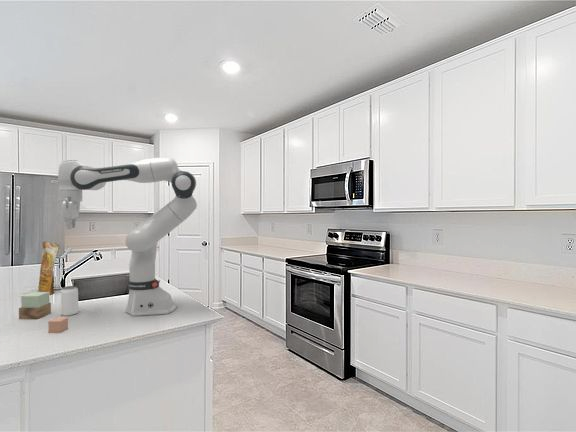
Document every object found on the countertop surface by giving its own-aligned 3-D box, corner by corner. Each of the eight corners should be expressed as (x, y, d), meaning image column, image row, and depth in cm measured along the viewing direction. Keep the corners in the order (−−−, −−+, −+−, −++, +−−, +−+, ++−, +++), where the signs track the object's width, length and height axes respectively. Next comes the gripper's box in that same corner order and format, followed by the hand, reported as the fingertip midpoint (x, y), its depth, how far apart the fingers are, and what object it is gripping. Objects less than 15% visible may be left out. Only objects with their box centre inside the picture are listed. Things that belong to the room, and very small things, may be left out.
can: (65, 317, 144) (65, 289, 143) (58, 314, 147) (58, 287, 147) (81, 313, 149) (80, 286, 149) (73, 310, 153) (73, 285, 152)
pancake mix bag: (49, 288, 192) (48, 240, 192) (60, 293, 181) (60, 243, 180) (35, 290, 187) (34, 241, 186) (46, 296, 175) (45, 244, 174)
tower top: (49, 302, 148) (49, 292, 148) (38, 307, 141) (38, 296, 141) (33, 302, 148) (33, 291, 148) (21, 307, 141) (21, 296, 141)
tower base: (50, 313, 149) (50, 302, 149) (38, 319, 141) (37, 308, 141) (32, 313, 148) (32, 302, 148) (19, 319, 140) (18, 308, 140)
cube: (67, 328, 131) (67, 317, 131) (60, 332, 126) (60, 321, 126) (56, 328, 131) (56, 317, 130) (48, 332, 126) (48, 321, 126)
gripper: (75, 196, 137) (76, 229, 137) (81, 197, 155) (82, 226, 156) (57, 196, 134) (57, 230, 135) (66, 197, 153) (66, 227, 153)
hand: (71, 228), depth 145 cm, fingers open, 8 cm apart
